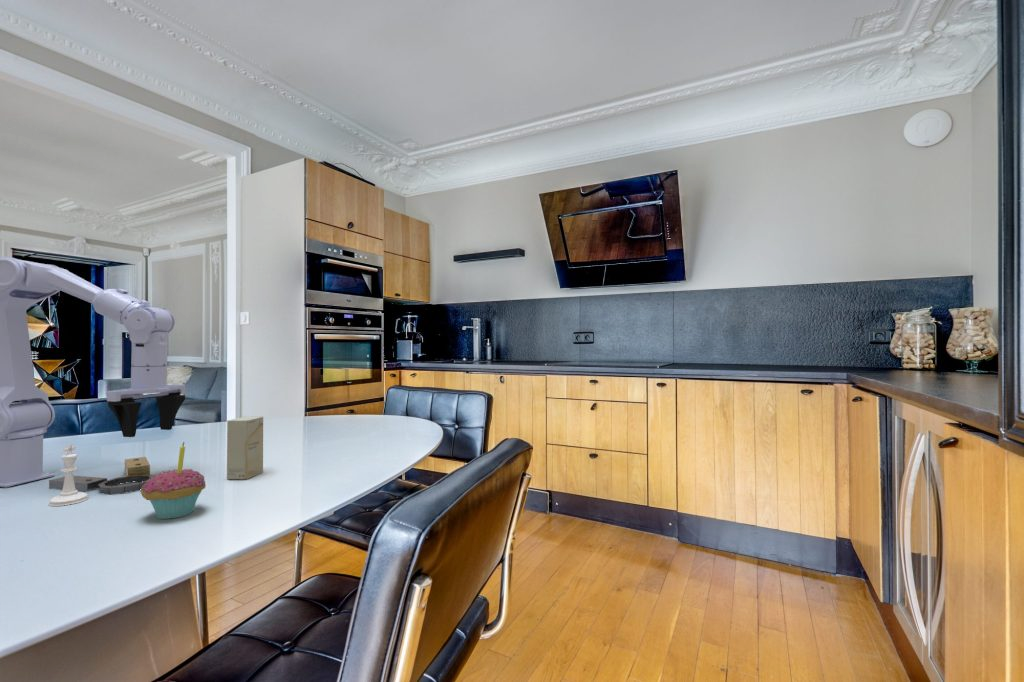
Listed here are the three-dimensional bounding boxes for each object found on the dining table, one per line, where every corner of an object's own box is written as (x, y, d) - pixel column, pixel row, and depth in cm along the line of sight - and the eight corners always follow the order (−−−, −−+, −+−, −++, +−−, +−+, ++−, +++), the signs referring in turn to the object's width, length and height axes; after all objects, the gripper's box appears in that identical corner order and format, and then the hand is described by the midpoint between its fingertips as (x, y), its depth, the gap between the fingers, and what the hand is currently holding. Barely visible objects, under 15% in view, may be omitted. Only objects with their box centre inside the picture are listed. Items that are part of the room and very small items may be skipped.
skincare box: (246, 480, 93) (247, 420, 93) (225, 479, 93) (226, 420, 93) (263, 471, 99) (264, 415, 99) (243, 471, 99) (244, 415, 99)
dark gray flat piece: (46, 488, 86) (46, 480, 86) (93, 476, 94) (94, 468, 94) (123, 495, 83) (123, 486, 83) (165, 482, 91) (165, 474, 91)
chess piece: (95, 497, 82) (96, 441, 82) (66, 507, 77) (67, 448, 77) (71, 496, 82) (72, 441, 82) (40, 505, 77) (41, 447, 77)
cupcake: (217, 508, 77) (218, 437, 77) (165, 527, 69) (166, 448, 69) (181, 502, 80) (182, 433, 80) (127, 519, 72) (128, 443, 72)
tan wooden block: (124, 470, 98) (124, 458, 98) (145, 467, 100) (145, 456, 100) (127, 479, 91) (127, 467, 91) (149, 476, 93) (149, 464, 93)
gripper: (128, 368, 84) (127, 441, 84) (197, 364, 99) (196, 427, 98) (98, 367, 86) (97, 439, 86) (170, 364, 100) (169, 425, 100)
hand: (148, 433), depth 92 cm, fingers open, 7 cm apart
